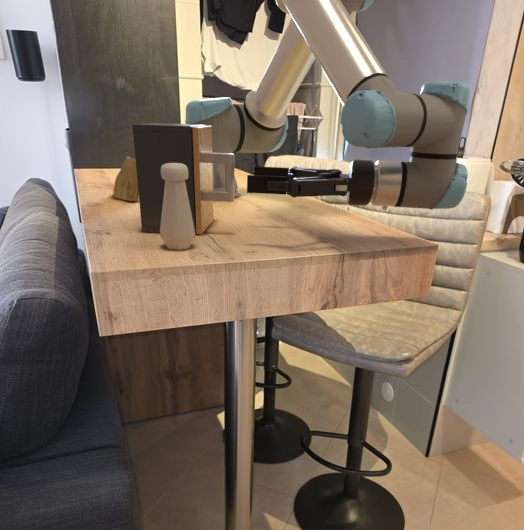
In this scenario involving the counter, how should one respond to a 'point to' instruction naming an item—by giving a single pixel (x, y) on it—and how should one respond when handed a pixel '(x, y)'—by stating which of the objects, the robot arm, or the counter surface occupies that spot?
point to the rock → (127, 181)
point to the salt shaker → (176, 208)
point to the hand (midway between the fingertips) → (250, 178)
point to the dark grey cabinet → (149, 166)
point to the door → (209, 177)
